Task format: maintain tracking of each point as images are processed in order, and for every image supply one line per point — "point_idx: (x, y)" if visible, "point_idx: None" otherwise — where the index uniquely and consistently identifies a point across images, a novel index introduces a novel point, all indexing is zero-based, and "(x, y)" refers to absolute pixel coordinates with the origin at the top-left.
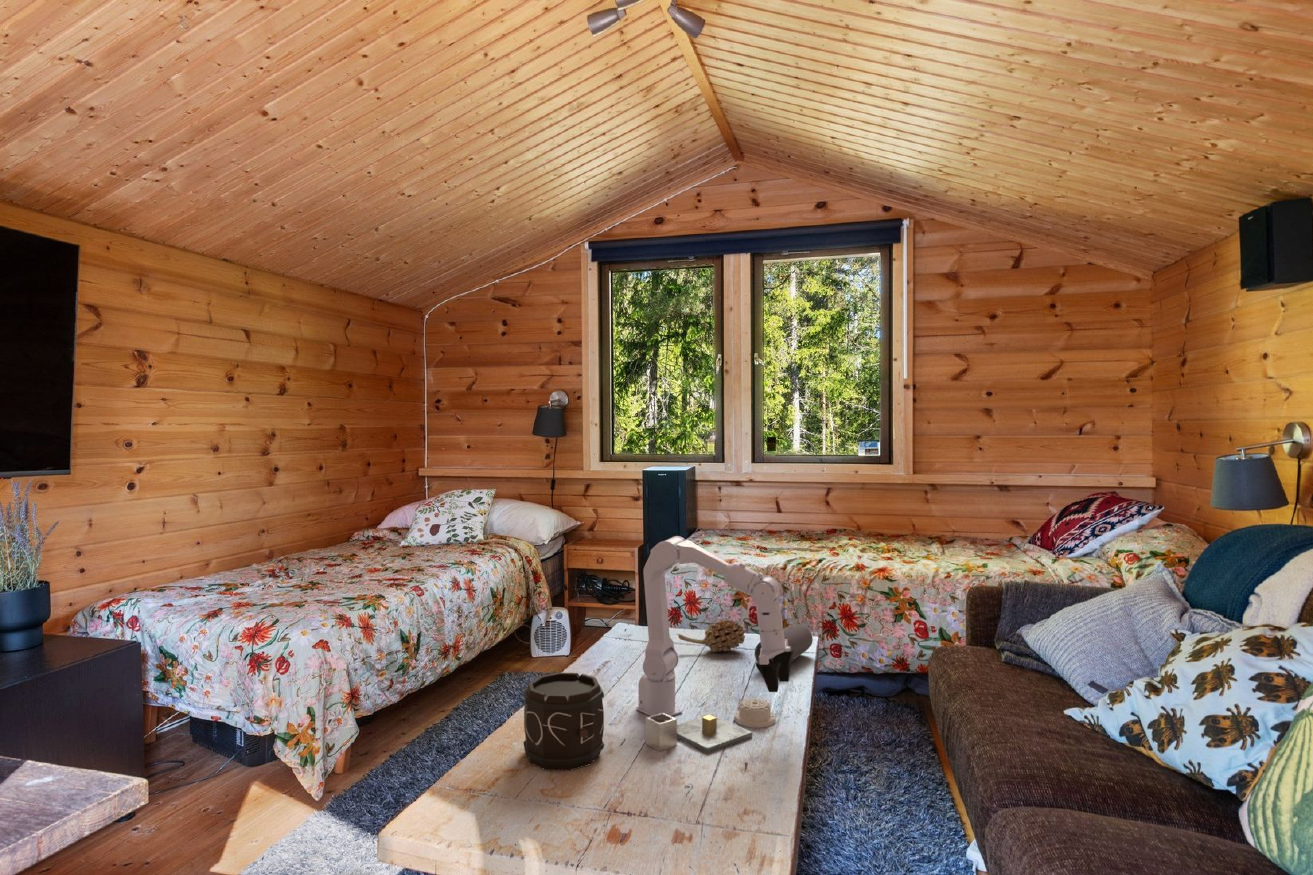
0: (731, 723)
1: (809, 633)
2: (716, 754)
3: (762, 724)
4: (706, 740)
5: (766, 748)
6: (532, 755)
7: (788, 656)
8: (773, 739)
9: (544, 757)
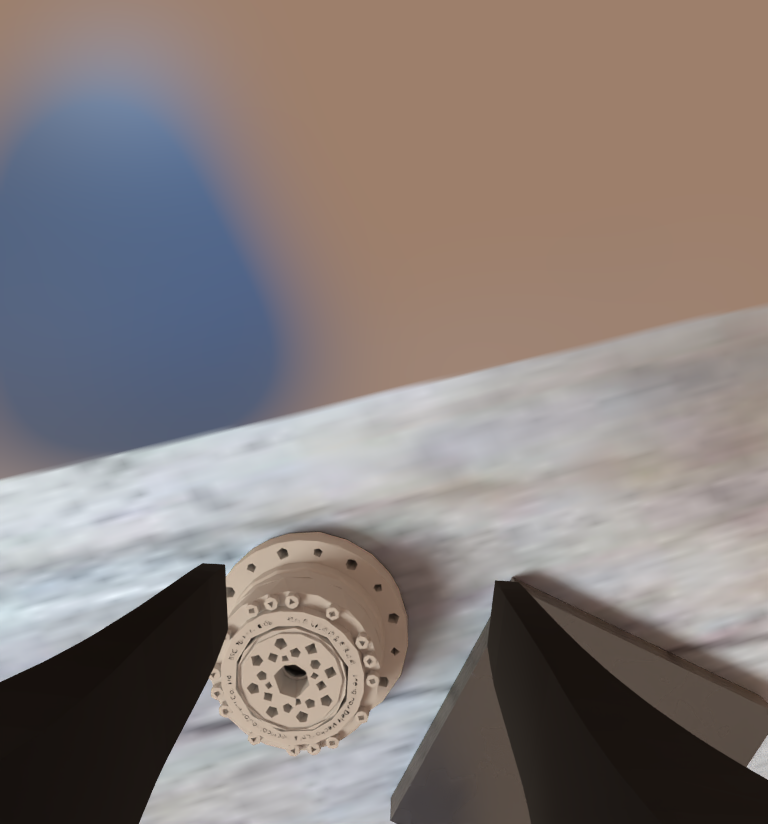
0: (459, 704)
1: None
2: (753, 659)
3: (383, 573)
4: None
5: (606, 483)
6: None
7: (26, 772)
8: (495, 482)
9: None
